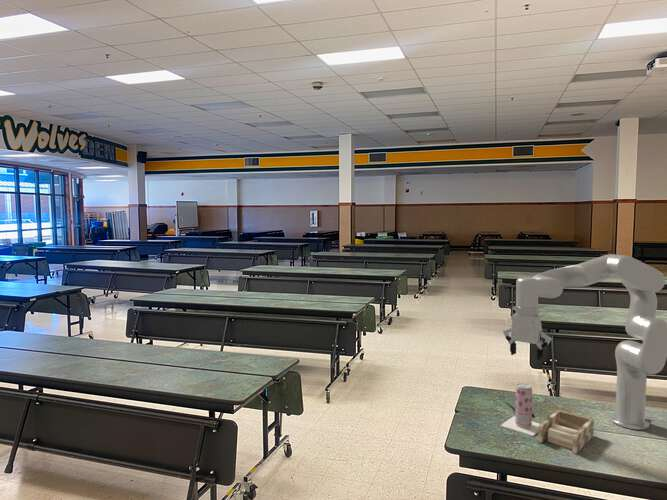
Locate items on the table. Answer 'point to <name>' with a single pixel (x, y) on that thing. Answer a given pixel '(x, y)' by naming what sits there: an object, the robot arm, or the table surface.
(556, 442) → the offcut lower
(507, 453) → the table surface
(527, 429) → the pad
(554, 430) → the offcut upper
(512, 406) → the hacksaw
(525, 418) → the beverage can
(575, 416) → the frame
